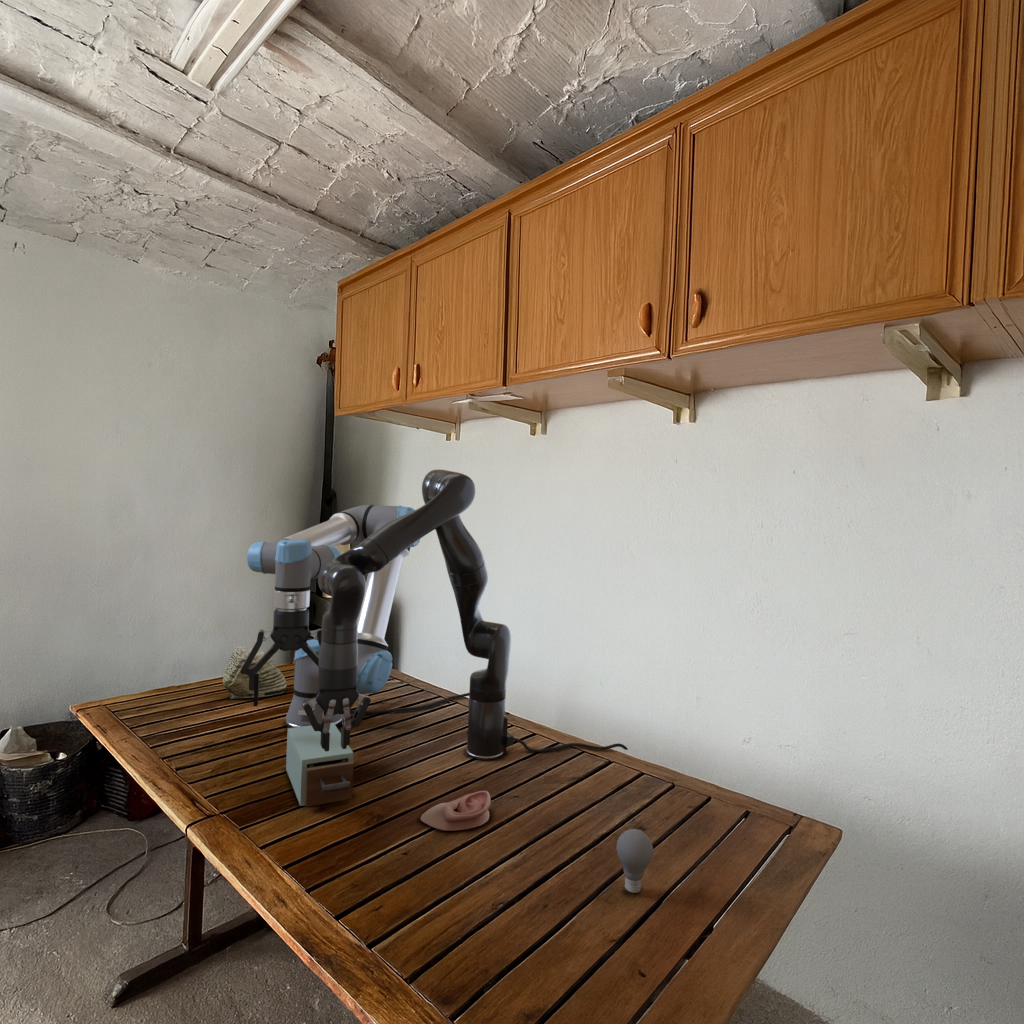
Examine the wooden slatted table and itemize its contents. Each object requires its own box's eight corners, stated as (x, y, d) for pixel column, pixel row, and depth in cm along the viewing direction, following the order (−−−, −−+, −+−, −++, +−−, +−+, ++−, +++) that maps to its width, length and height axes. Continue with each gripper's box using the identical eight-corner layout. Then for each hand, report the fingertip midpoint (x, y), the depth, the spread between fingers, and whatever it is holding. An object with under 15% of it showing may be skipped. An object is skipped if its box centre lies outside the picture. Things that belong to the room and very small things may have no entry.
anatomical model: (415, 806, 123) (434, 781, 134) (414, 826, 123) (433, 799, 134) (481, 816, 120) (495, 789, 132) (480, 836, 120) (494, 808, 132)
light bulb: (610, 879, 108) (613, 822, 108) (644, 879, 109) (647, 822, 109) (619, 902, 102) (622, 840, 102) (655, 901, 103) (658, 840, 103)
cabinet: (351, 797, 134) (353, 752, 134) (300, 806, 129) (301, 760, 129) (332, 762, 151) (333, 722, 151) (285, 769, 146) (287, 728, 146)
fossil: (218, 695, 195) (220, 647, 195) (278, 685, 208) (279, 640, 207) (228, 703, 189) (230, 653, 188) (289, 692, 201) (290, 645, 201)
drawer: (359, 810, 127) (360, 773, 126) (311, 820, 122) (312, 781, 122) (333, 765, 147) (334, 733, 147) (291, 771, 143) (293, 738, 143)
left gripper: (229, 612, 135) (225, 711, 135) (350, 611, 142) (346, 704, 143) (233, 606, 142) (230, 700, 142) (348, 605, 149) (344, 694, 150)
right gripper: (305, 670, 120) (301, 761, 120) (378, 664, 126) (374, 750, 127) (298, 661, 126) (295, 747, 127) (368, 655, 133) (364, 737, 133)
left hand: (288, 702), depth 142 cm, fingers open, 13 cm apart
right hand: (335, 748), depth 127 cm, fingers open, 3 cm apart
